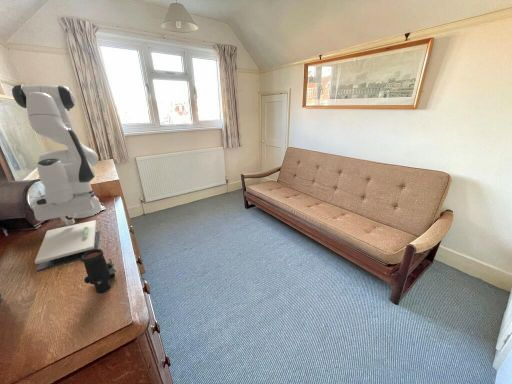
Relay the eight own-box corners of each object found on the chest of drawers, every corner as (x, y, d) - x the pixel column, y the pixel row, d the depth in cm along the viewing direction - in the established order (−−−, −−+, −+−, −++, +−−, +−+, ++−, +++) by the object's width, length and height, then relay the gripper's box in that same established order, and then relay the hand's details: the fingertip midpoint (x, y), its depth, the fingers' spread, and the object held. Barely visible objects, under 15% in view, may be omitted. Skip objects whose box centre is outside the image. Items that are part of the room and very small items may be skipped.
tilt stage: (48, 232, 97) (45, 227, 96) (96, 222, 106) (94, 217, 105) (35, 264, 80) (32, 258, 79) (93, 248, 89) (92, 243, 88)
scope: (108, 241, 74) (108, 255, 66) (117, 273, 79) (118, 290, 71) (78, 249, 70) (74, 265, 62) (90, 282, 75) (88, 302, 67)
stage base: (51, 244, 99) (48, 236, 98) (100, 232, 109) (98, 224, 107) (36, 272, 81) (32, 263, 79) (97, 255, 90) (94, 246, 89)
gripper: (90, 189, 102) (98, 215, 107) (32, 198, 92) (43, 227, 97) (88, 193, 97) (97, 220, 102) (27, 203, 87) (39, 232, 92)
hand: (70, 223), depth 99 cm, fingers closed
